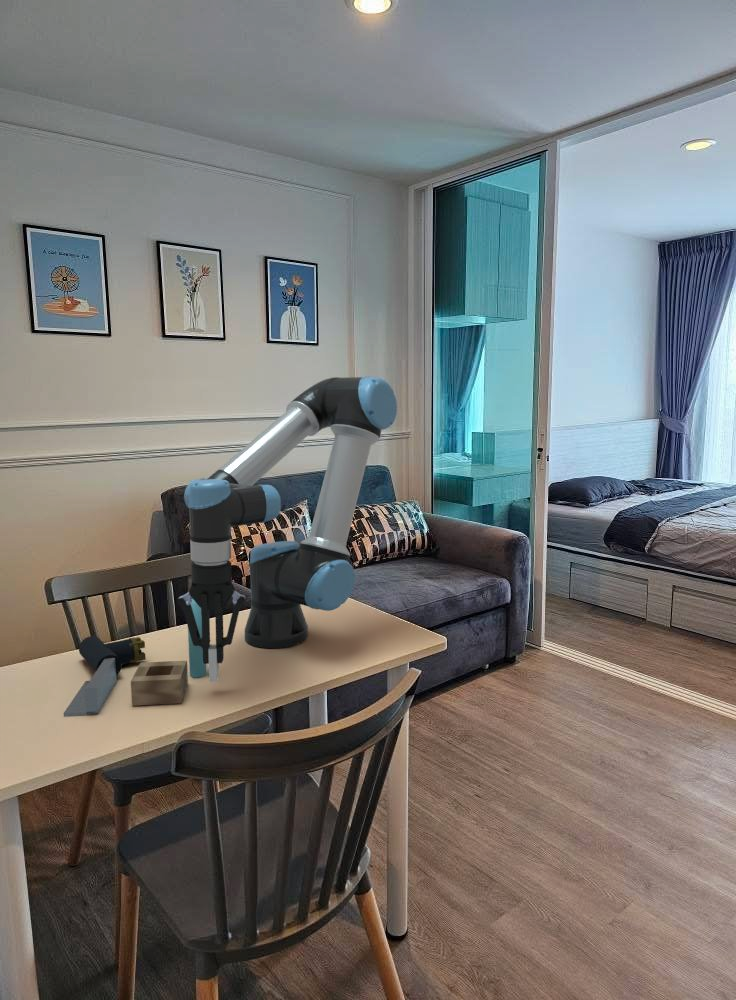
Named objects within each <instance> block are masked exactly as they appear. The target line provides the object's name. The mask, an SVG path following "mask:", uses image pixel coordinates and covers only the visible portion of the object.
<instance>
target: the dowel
mask: <svg viewBox="0 0 736 1000" xmlns="http://www.w3.org/2000/svg"><path fill="white" fill-rule="evenodd" d="M191 600H192V602H191V607H192V610H193V613H194V617H195V620H196V624H197V627H198V631H199V634H200V637H201V638H202V615H201V608H200V607H199V606H198V604H197V603H196V602H195V601H194V599H193V598H191ZM187 638H188V639H187V641H188V656H189V657H188V659H189V661H188V662H189V666H188V667H189V677H190V678H192V679H199V678H205V676H207V674H208V673H207V664H204V663H203V649H202V647H200V646H194V645H193V643H192V639H191V636H190V632H189V629H188V628H187Z"/></svg>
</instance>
